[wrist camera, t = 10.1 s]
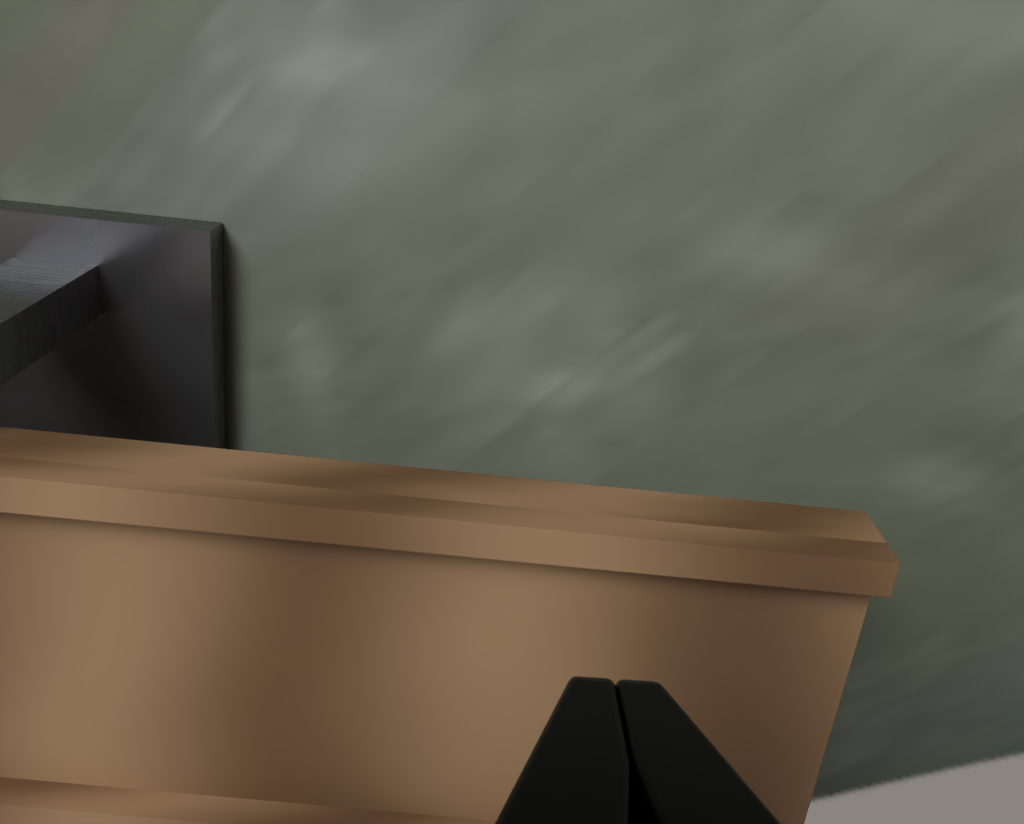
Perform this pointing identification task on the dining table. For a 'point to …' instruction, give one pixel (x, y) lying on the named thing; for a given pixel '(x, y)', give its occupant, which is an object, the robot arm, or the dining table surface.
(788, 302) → the dining table surface
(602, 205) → the dining table surface
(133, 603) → the balance beam
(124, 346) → the stand
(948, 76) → the dining table surface
